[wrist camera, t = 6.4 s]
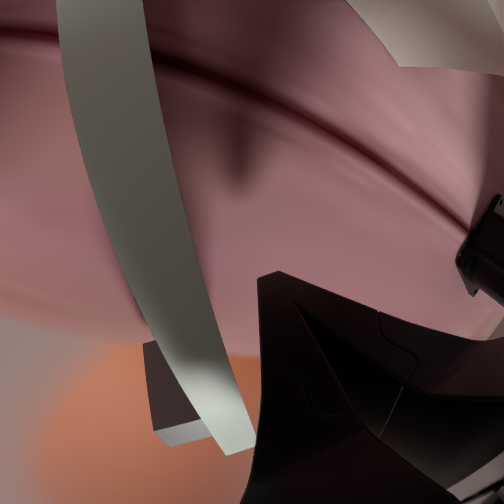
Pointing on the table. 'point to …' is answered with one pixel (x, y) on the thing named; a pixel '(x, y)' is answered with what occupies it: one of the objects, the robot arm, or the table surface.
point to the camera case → (439, 32)
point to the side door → (148, 221)
